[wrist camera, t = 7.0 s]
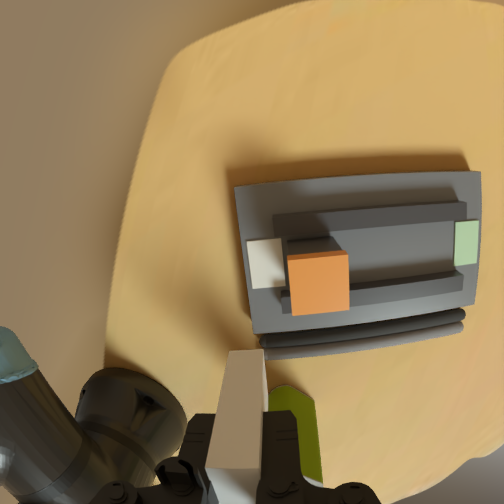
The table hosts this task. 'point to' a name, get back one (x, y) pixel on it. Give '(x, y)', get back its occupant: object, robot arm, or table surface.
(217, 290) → the table surface
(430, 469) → the table surface
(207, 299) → the table surface
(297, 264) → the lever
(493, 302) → the table surface
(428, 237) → the panel
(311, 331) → the grey twin rods
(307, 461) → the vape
